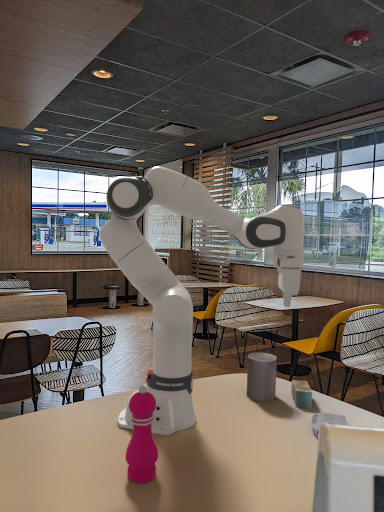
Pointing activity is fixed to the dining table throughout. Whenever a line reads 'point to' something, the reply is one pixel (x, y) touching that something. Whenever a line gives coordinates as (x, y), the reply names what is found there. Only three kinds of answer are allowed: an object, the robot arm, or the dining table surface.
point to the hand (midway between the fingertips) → (286, 306)
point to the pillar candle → (261, 377)
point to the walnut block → (301, 393)
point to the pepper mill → (142, 438)
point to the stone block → (326, 420)
